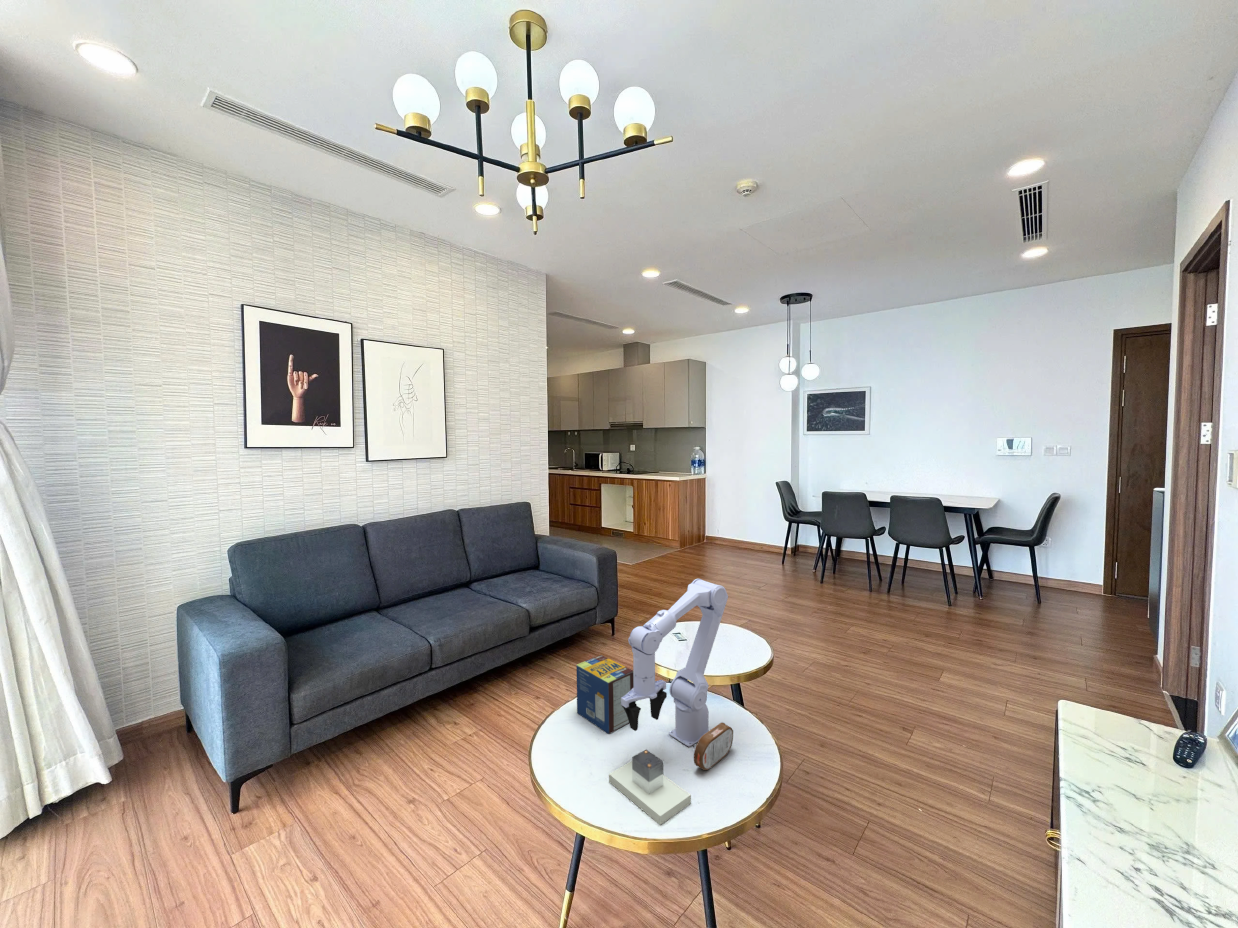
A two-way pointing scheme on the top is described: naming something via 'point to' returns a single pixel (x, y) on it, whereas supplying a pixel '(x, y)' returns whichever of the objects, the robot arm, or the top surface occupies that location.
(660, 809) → the sage stand
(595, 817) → the top surface
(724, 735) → the tin
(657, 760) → the housing
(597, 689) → the protein box
